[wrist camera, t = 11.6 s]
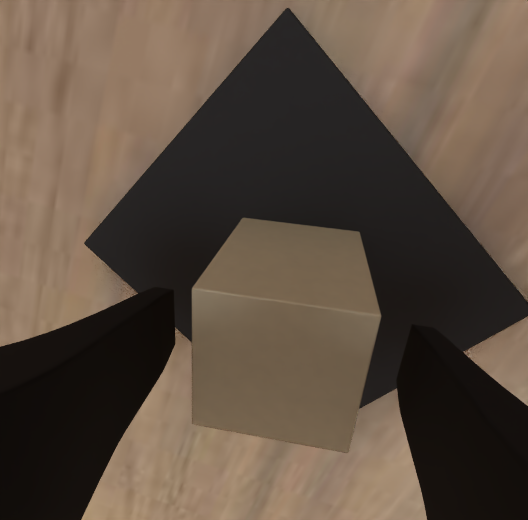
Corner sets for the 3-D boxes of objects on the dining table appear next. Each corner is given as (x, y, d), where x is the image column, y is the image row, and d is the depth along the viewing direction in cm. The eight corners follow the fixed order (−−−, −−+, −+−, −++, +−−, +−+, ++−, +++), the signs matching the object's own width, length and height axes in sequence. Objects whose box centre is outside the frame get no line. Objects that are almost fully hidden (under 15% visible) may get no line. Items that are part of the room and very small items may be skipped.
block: (360, 231, 14) (382, 315, 8) (340, 331, 16) (348, 454, 10) (242, 216, 14) (191, 287, 9) (237, 315, 16) (191, 424, 11)
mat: (528, 304, 15) (536, 312, 14) (300, 432, 19) (299, 442, 18) (289, 10, 12) (287, 5, 11) (90, 239, 16) (82, 243, 16)
